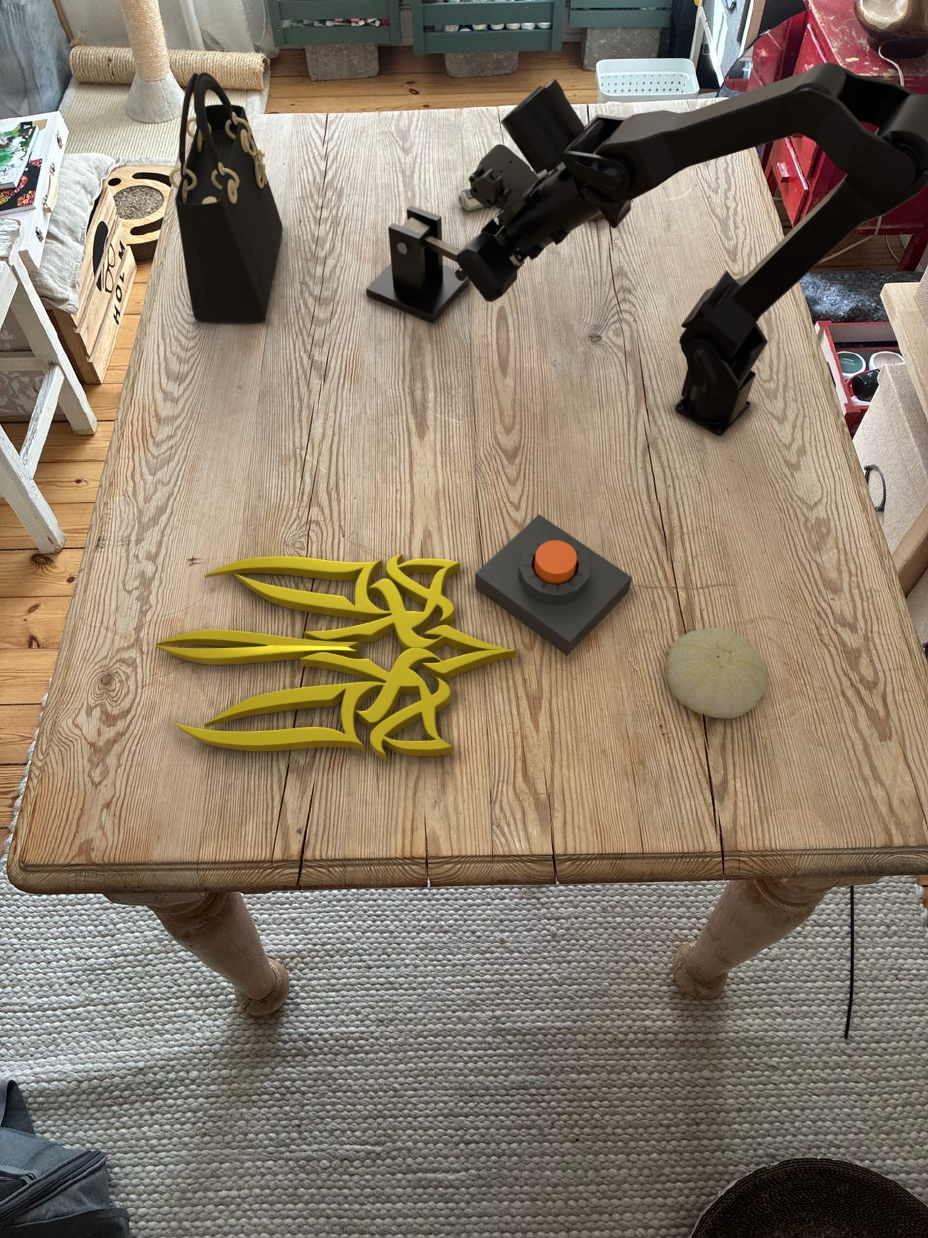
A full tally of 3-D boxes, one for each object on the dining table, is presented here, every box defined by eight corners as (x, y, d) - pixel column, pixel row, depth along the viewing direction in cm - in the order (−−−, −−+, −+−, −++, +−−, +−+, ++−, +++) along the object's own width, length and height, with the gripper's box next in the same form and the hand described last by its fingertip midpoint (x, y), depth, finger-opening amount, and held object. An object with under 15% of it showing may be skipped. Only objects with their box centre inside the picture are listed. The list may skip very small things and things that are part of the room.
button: (583, 565, 92) (585, 555, 90) (557, 591, 90) (559, 580, 88) (551, 543, 93) (553, 533, 91) (526, 568, 91) (527, 558, 90)
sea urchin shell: (745, 739, 84) (703, 676, 81) (680, 732, 91) (638, 673, 88) (792, 668, 88) (753, 605, 85) (725, 665, 94) (687, 607, 91)
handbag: (265, 329, 116) (220, 134, 94) (192, 328, 116) (131, 133, 94) (285, 225, 126) (248, 29, 105) (219, 225, 127) (169, 28, 105)
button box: (628, 592, 95) (635, 566, 91) (567, 656, 91) (571, 632, 87) (537, 529, 99) (540, 502, 95) (475, 588, 95) (475, 562, 91)
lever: (487, 260, 113) (489, 244, 111) (464, 286, 111) (466, 269, 109) (417, 226, 115) (418, 209, 113) (393, 250, 113) (393, 234, 111)
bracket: (470, 282, 120) (470, 214, 112) (432, 323, 116) (430, 256, 108) (405, 257, 123) (400, 188, 115) (366, 296, 119) (358, 228, 110)
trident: (515, 757, 83) (128, 747, 84) (514, 764, 85) (133, 754, 86) (516, 555, 95) (176, 548, 96) (515, 564, 97) (180, 557, 97)
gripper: (560, 91, 99) (474, 161, 112) (470, 182, 91) (387, 247, 103) (619, 181, 103) (529, 239, 116) (538, 276, 95) (450, 327, 108)
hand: (475, 260), depth 111 cm, fingers closed, pressing on lever
